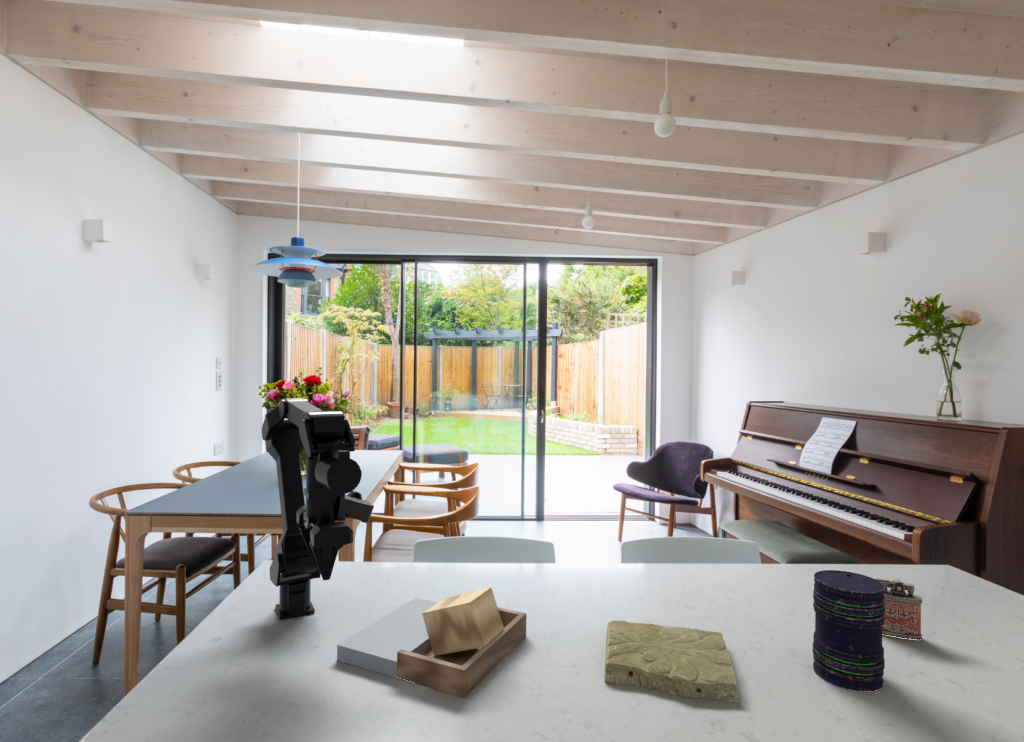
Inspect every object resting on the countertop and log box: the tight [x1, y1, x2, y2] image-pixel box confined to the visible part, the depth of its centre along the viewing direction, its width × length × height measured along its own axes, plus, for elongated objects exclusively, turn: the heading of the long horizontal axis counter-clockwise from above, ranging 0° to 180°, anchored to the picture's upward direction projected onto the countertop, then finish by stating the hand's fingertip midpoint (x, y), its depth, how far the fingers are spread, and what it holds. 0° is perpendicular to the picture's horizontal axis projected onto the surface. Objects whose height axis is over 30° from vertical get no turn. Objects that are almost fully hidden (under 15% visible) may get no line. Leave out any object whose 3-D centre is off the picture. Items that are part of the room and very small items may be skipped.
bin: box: [397, 606, 527, 699], centre depth 95 cm, size 12×22×4 cm, turn 154°
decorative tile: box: [604, 620, 740, 704], centre depth 93 cm, size 19×20×4 cm
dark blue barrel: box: [812, 569, 886, 693], centre depth 90 cm, size 10×10×15 cm
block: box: [422, 587, 504, 656], centre depth 95 cm, size 7×7×10 cm
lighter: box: [874, 577, 923, 640], centre depth 104 cm, size 8×3×10 cm, turn 65°
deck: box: [336, 597, 439, 678], centre depth 100 cm, size 12×22×2 cm, turn 154°
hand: (322, 573), depth 99 cm, fingers open, 7 cm apart
